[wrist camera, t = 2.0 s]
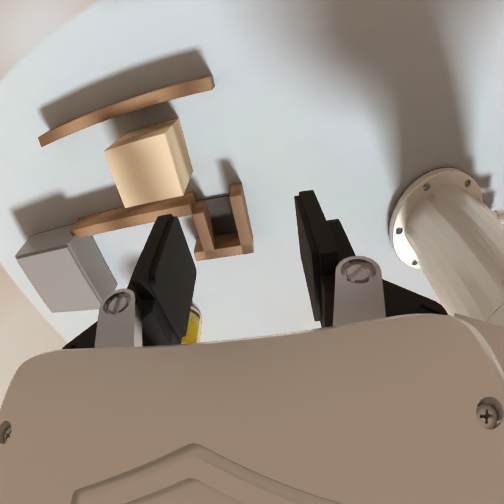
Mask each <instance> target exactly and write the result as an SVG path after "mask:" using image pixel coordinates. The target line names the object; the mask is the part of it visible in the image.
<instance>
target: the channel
mask: <svg viewBox="0 0 504 504" xmlns="http://www.w3.org/2000/svg"><path fill="white" fill-rule="evenodd" d="M214 87H215V85H214V80H213V76H212V75H211V76H206V77H202V78H197V79H193V80H189V81H185V82H181V83H177V84H174V85H170V86H166V87H163V88H159V89H156V90H153V91H149V92H146V93H143V94H140V95H137V96H134V97H131V98H128V99H125V100H122V101H119V102H116V103H113V104H111V105H108V106H105V107H103V108H100V109H98V110H95V111H93V112H90V113H88V114H85V115H83V116H80V117H78V118H76V119H73V120H71V121H69V122H67V123H64V124H62V125H60V126H58V127H56V128H53V129H51V130H50V131H48V132H46V133H45V134H43V135H41V136H40V137H38V139H39V142H40V145H41V147H43V146H45V145H47V144H49V143H51V142H54V141H56V140H58V139H60V138H63V137H65V136H67V135H70V134H72V133H74V132H77V131H79V130H82V129H84V128H87V127H89V126H92V125H95V124H97V123H100V122H103V121H105V120H108V119H111V118H114V117H116V116H119V115H122V114H125V113H128V112H131V111H134V110H138V109H141V108H144V107H147V106H151V105H154V104H158V103H161V102H165V101H168V100H172V99H176V98H180V97H184V96H188V95H192V94H196V93H200V92H205V91H209V90H212V89H213V88H214ZM166 214H172V215H173V216H177V217H182V216H187V215H192V216H193V219H194V222H195V225H196V228H197V231H198V235H199V237H198V238H197V240H196V245H195V249H194V255H195V258H196V261H201V260H207V259H214V258H221V257H227V256H234V255H241V254H248V253H254V249H253V235H252V230H251V225H250V220H249V216H248V211H247V206H246V201H245V196H244V192H243V187H242V183H238V184H232V185H231V187H230V195H227V196H221V197H216V198H210V199H205V200H199V201H196V199H195V196H194V192H189V193H184V195H183V196H179V197H174V198H169V199H164V200H159V201H155V202H150V203H146V204H141V205H137V206H132V207H128V208H125V207H121V208H117V209H113V210H109V211H105V212H101V213H97V214H93V215H89V216H85V217H81V218H79V219H78V221H77V222H76V223H75V225H74V226H73V227H72V229H71V230H70V233H71V235H74V234H75V235H76V237H77V238H81V237H85V236H90V235H94V234H99V233H103V232H108V231H112V230H117V229H122V228H126V227H131V226H136V225H141V224H146V223H151V222H155V221H156V219H157V217H158V216H161V215H166Z"/></svg>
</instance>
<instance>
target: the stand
mask: <svg viewBox="0 0 504 504" xmlns="http://www.w3.org/2000/svg"><path fill="white" fill-rule="evenodd" d="M74 225H75V224H72V225H68V226H64V227H60V228H57V229H53V230H50V231H46V232H43V233H39V234H36V235H32V236H30V238H29V239H28V240H27V241H26V243H25V244H24V245H23V246H22V248H21V249H20V250H19V251H18V253H17V254H16V255H15V257H16V260H17V261H18V263H19V265H20V266H21V268H22V270H23V271H24V273H25V274H26V276H27V277H28V279H29V280H30V282H31V283H32V285H33V286H34V288H35V289H36V291H37V292H38V294H39V295H40V297H41V298H42V299H43V301H44V302H45V304H46V305H47V306H48V308H49V309H50V310H51V312H67V311H80V310H92V309H99V308H100V305H101V303H102V301H103V300H104V299H105V298H106V297H107V296H108V295H109V294H111V293H112V292H114V291H115V289H116V286H117V282H116V280H115V279H114V277H113V275H112V273H111V271H110V269H109V268H108V266H107V264H106V262H105V260H104V258H103V256H102V254H101V252H100V250H99V249H98V247H97V245H96V243H95V241H94V239H93V237H92V235H90V236H85V237H81V238H77V237H76V235H75V234H74V235H71V233H70V230H71V229H72V227H73V226H74Z"/></svg>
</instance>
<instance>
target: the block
mask: <svg viewBox="0 0 504 504" xmlns="http://www.w3.org/2000/svg"><path fill="white" fill-rule="evenodd" d="M104 153H105V156H106V159H107V162H108V164H109V167H110V170H111V173H112V175H113V178H114V181H115V183H116V186H117V189H118V191H119V194H120V196H121V199H122V201H123V204H124V206H125V208H128V207H132V206H137V205H141V204H146V203H150V202H155V201H159V200H164V199H169V198H174V197H179V196H183V195H184V192H185V190H186V187H187V185H188V182H189V180H190V177H191V175H192V172H193V169H192V165H191V162H190V158H189V154H188V150H187V147H186V143H185V139H184V135H183V132H182V128H181V124H180V120H179V118H178V119H174V120H170V121H166V122H162V123H159V124H155V125H151V126H148V127H144V128H141V129H138V130H134V131H131V132H128V133H125V134H124V135H123V136H122V137H120V138H119V139H118V140H117V141H116V142H114V143H113V144H112V145H111V146H110V147H108V148H107V149H106V150H105V151H104Z"/></svg>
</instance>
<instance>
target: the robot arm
mask: <svg viewBox="0 0 504 504" xmlns="http://www.w3.org/2000/svg"><path fill="white" fill-rule="evenodd" d="M294 199H295V207H296V216H297V225H298V235H299V245H300V254H301V260H302V264H303V269H304V273H305V278H306V282H307V287H308V291H309V296H310V301H311V305H312V310H313V315H314V320H315V321H320V322H321V327H322V328H318V329H312V330H305V331H298V332H291V333H284V334H276V335H268V336H260V337H251V338H242V339H233V340H223V341H212V342H201V343H189V344H181V343H182V337H186V334H187V328H188V321H189V315H190V309H191V303H192V297H193V291H194V285H195V280H196V267H195V264H194V262H193V259H192V256H191V253H190V250H189V248H188V245H187V242H186V239H185V236H184V233H183V231H182V228H181V225H180V222H179V219H178V217H177V216H173V215H172V214H166V215H161V216H158V217H157V219H156V221H155V224H154V226H153V228H152V230H151V233H150V235H149V237H148V239H147V242H146V244H145V246H144V249H143V251H142V253H141V255H140V257H139V260H138V262H137V265H136V267H135V270H134V272H133V275H132V277H131V280H130V282H129V285H128V287H127V289H119V290H116V291H114V292H112V293H111V294H109V295H108V296H107V297H106V298H105V299H104V300H103V301H102V303H101V305H100V308H99V315H98V321H97V322H96V323H94V324H93V325H92V326H90V327H89V328H88V329H86V330H85V331H84V332H82V333H81V334H80V335H78V336H77V337H76V338H74V339H73V340H72V341H71V342H69V343H68V344H67V345H65V347H63V348H62V350H55V351H50V352H46V353H42V354H39V355H37V356H34V357H32V358H30V359H28V360H27V361H25V362H24V363H23V364H22V365H21V366H20V367H19V368H18V370H17V371H16V373H15V375H14V377H13V379H12V381H11V383H10V385H9V387H8V389H7V392H6V394H5V397H4V400H3V402H2V405H1V408H0V504H504V225H501V224H500V222H503V221H504V210H495V211H491V210H490V209H489V208H488V207H487V206H486V205H485V204H484V203H483V197H482V193H481V190H480V188H479V186H478V184H477V183H476V182H475V181H474V180H473V178H471V177H470V176H469V175H468V174H466V173H465V172H463V171H461V170H459V169H454V168H440V169H437V170H433V171H430V172H428V173H426V174H425V175H423V176H421V177H420V178H418V179H417V180H416V181H414V182H413V183H412V184H411V185H410V186H409V187H408V188H407V189H406V190H405V192H404V193H403V195H402V196H401V197H400V199H399V200H398V202H397V204H396V206H395V208H394V210H393V214H392V217H391V220H390V227H389V236H390V242H391V245H392V248H393V249H394V251H395V253H396V255H397V256H398V257H399V259H400V260H401V261H402V262H403V263H405V264H406V265H408V266H410V267H413V268H418V269H422V271H423V272H424V274H425V276H426V277H427V279H428V281H429V282H430V284H431V286H432V288H433V289H434V291H435V293H436V294H437V296H438V298H439V300H440V302H441V303H442V305H443V306H442V305H441V304H439V303H437V302H436V301H433V300H431V299H429V298H426V297H424V296H422V295H419V294H417V293H414V292H412V291H410V290H407V289H405V288H402V287H400V286H398V285H395V284H393V283H390V282H388V281H386V280H383V279H382V275H381V269H380V266H379V265H378V264H377V263H376V262H375V261H374V260H372V259H370V258H367V257H364V256H355V253H354V251H353V249H352V247H351V244H350V242H349V240H348V238H347V236H346V233H345V231H344V229H343V227H342V225H341V223H340V221H339V219H334V220H327V221H326V219H325V217H324V214H323V212H322V209H321V207H320V205H319V202H318V200H317V198H316V195H315V193H314V191H313V190H310V191H302V192H299V196H294Z"/></svg>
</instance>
